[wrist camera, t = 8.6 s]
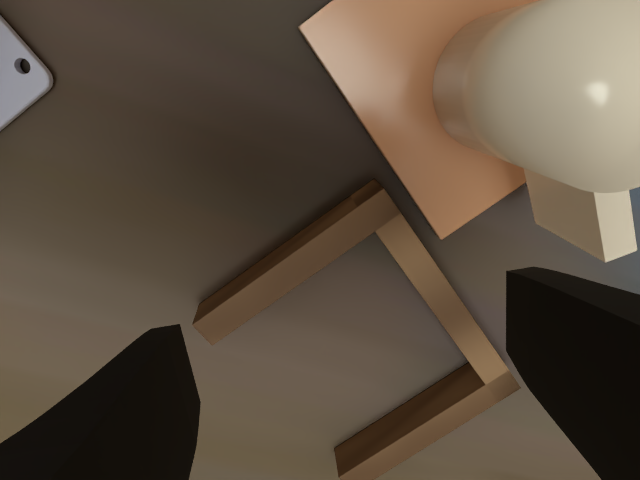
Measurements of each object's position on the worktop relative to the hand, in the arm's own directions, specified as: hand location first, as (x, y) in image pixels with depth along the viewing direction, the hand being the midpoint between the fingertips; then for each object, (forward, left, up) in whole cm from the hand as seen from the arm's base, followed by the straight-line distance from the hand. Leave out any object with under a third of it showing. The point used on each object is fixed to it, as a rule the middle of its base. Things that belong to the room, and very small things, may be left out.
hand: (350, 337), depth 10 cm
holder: (+6, -2, -10) cm, 12 cm away
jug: (+1, +8, -9) cm, 12 cm away
